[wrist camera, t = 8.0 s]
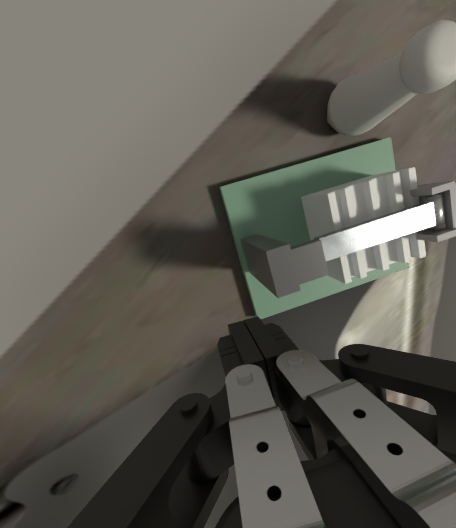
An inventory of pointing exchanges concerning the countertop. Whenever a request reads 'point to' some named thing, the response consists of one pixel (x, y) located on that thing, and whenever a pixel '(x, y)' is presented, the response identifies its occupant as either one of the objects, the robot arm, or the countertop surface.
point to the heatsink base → (332, 217)
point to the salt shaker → (395, 80)
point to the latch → (284, 263)
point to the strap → (385, 228)
